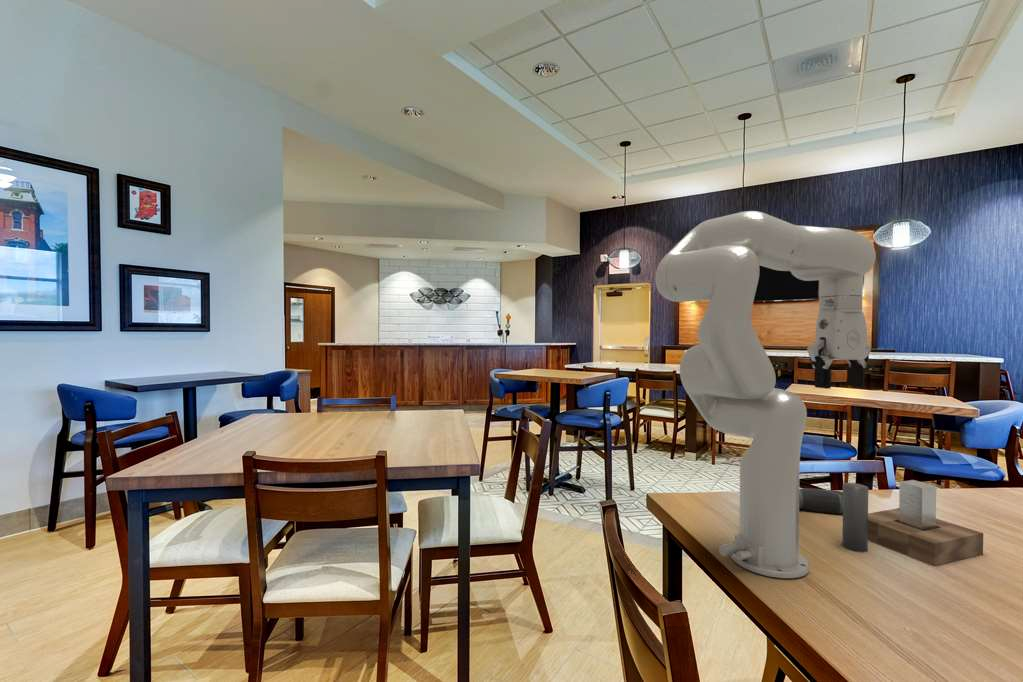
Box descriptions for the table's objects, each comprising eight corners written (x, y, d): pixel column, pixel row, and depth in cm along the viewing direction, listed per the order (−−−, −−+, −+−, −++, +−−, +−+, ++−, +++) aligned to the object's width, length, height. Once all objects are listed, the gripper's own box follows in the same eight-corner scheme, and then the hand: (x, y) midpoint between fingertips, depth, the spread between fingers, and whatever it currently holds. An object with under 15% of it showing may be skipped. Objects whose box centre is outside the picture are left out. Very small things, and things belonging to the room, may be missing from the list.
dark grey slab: (869, 537, 98) (761, 524, 105) (842, 506, 116) (751, 497, 123) (870, 511, 98) (761, 499, 105) (842, 484, 116) (751, 476, 123)
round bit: (858, 553, 90) (858, 490, 90) (837, 544, 94) (838, 483, 94) (872, 550, 91) (873, 488, 91) (851, 541, 95) (852, 481, 95)
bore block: (935, 566, 85) (935, 543, 85) (855, 534, 98) (855, 515, 98) (983, 554, 90) (983, 533, 90) (901, 525, 103) (901, 507, 103)
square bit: (921, 550, 91) (922, 488, 91) (898, 541, 95) (899, 481, 95) (935, 547, 93) (936, 486, 92) (912, 539, 96) (913, 480, 96)
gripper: (827, 303, 94) (826, 390, 94) (887, 305, 100) (886, 387, 100) (793, 306, 101) (792, 386, 101) (851, 307, 107) (850, 384, 107)
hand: (839, 387), depth 100 cm, fingers open, 9 cm apart
